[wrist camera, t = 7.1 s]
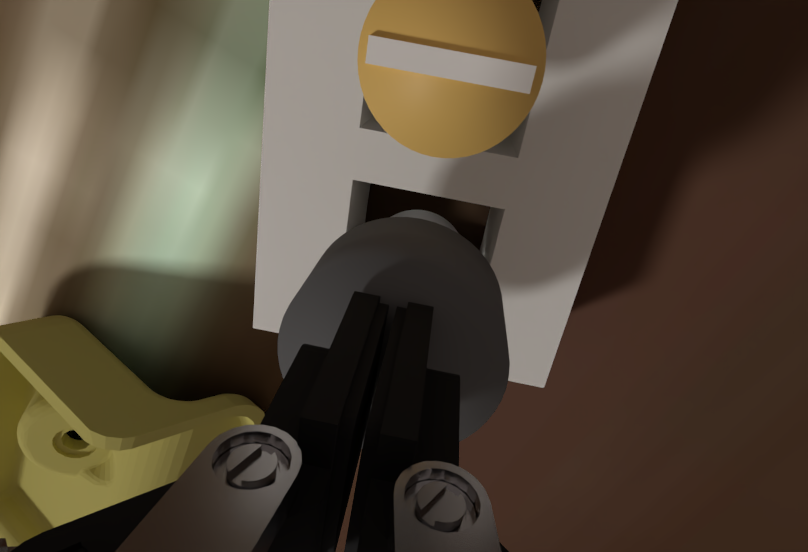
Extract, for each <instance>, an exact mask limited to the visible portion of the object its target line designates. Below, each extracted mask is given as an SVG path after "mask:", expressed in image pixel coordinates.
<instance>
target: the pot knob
mask: <svg viewBox="0 0 808 552" xmlns="http://www.w3.org/2000/svg"><path fill="white" fill-rule="evenodd" d="M357 62H358V75H359V80H360V86H361V89H362V92H363V95H364V98H365V101H366V103H367V105H368V107H369V109H370V111H371V113H372V114H373V116H374V118H375V119H376V121H377V122H378V123H379V124H380V126H381V127H382V128H383V129H384V130H385V131H386V132H387V133H388V134H389V135H390V136H391V137H392V138H393V139H395V140H396V141H397V142H399V143H400V144H402V145H403V146H405V147H407V148H409V149H410V150H413V151H415V152H418V153H420V154H423V155H427V156H431V157H437V158H460V157H467V156H471V155H474V154H478V153H480V152H483V151H485V150H488V149H490V148H491V147H493V146H495V145H497V144H498V143H500V142H501V141H503V140H504V139H505V138H507V137H508V136H509V135H510V134H511V133H512V132H513V131H514V130H515V129H517V128H518V126H519V125H520V124H521V123H522V122H523V120H524V119H525V118H526V116H527V115H528V113H529V112H530V110H531V109H532V107H533V105H534V103H535V101H536V99H537V97H538V94H539V91H540V88H541V85H542V82H543V78H544V73H545V67H546V40H545V35H544V29H543V25H542V22H541V19H540V16H539V13H538V11H537V9H536V7H535V5H534V3H533V1H532V0H375V2H374V3H373V5H372V6H371V8H370V10H369V12H368V15H367V17H366V19H365V21H364V24H363V28H362V31H361V34H360V40H359V45H358V58H357Z"/></svg>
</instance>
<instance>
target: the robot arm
mask: <svg viewBox="0 0 808 552" xmlns="http://www.w3.org/2000/svg"><path fill="white" fill-rule="evenodd" d="M388 308H389V305H388V304H383V303H380V296H377V295H372V294H367V293H362V292H357V291H354V293H353V295H352V298H351V300H350V302H349V305H348V307H347V309H346V312H345V314H344V316H343V319H342V321H341V323H340V325H339V328H338V330H337V332H336V335H335V337H334V339H333V342H332V344H331V346H330V349H329V348H324V347H319V346H314V345H309V344H303V345H302V346H301V348H300V349H299V351H298V353H297V355H296V357H295V359H294V361H293V362H292V364H291V366H290V368H289V370H288V372H287V374H286V376H285V378H284V380H283V382H282V383H281V385H280V387H279V389H278V391H277V393H276V395H275V397H274V399H273V401H272V403H271V404H270V406H269V408H268V410H267V412H266V414H265V416H264V418H263V420H262V422H261V423H260V425H244V426H240V427H235V428H232V429H230V430H228V431H226V432H224V433H222V434H220V435H218V436H217V437H216V438H215V439H214V440H212V441H211V442H210V443H209V444H208V445H207V446H206V447H205V448H204V450H203V451H202V452H201V453H200V454H199V455H198V457H197V458H196V459H195V460H194V461H193V462H192V463H191V465H190V466H189V467H188V468H187V469H186V470H185V472H184V473H183V474H182V475H181V476H180V477H179V478H178V480H177V481H174V482H172V483H169V484H166V485H164V486H161V487H159V488H156V489H153V490H151V491H148V492H146V493H143V494H140V495H138V496H135V497H133V498H130V499H128V500H125V501H122V502H120V503H117V504H115V505H112V506H109V507H107V508H104V509H102V510H99V511H96V512H94V513H91V514H89V515H86V516H83V517H81V518H78V519H76V520H73V521H70V522H68V523H65V524H63V525H60V526H57V527H55V528H52V529H50V530H47V531H44V532H42V533H40V534H38V535H36V536H34V537H32V538H30V539H28V540H26V541H24V542H22V543H21V544H20V545H18V546H9V547H8V546H7V542H6V538H0V552H335V551H336V547H337V543H338V539H339V535H340V531H341V527H342V523H343V519H344V515H345V511H346V507H347V503H348V499H349V495H350V491H351V487H352V483H353V480H354V476H355V472H356V468H357V464H358V460H359V456H360V452H361V448H362V453H361V459H360V465H359V470H358V476H357V482H356V488H355V493H354V499H353V505H352V511H351V516H350V522H349V528H348V533H347V539H346V545H345V551H344V552H508V551H507V549H506V548H505V547H504V546H503V545H502V544H501V543H500V542H499V538H498V534H497V529H496V525H495V521H494V516H493V512H492V507H491V503H490V500H489V498H488V495H487V493H486V490H485V489H484V488H483V486H482V485H481V484H480V483H479V481H478V480H477V479H476V478H475V477H473V476H472V475H471V474H470V473H468V472H467V471H466V470H464V469H462V468H460V467H459V422H460V375H457V374H452V373H447V372H442V371H437V370H433V369H428V368H427V360H428V352H429V343H430V335H431V327H432V318H433V310H434V307H433V306H428V305H423V304H418V303H413V302H408V306H407V308H403V307H398V306H397V308H396V312H395V316H394V320H393V324H392V328H391V332H390V336H389V340H388V344H387V348H386V351H385V355H384V359H383V363H382V367H381V371H380V375H379V379H378V383H377V387H376V391H375V395H374V399H373V394H374V388H375V382H376V377H377V371H378V365H379V360H380V354H381V348H382V343H383V337H384V331H385V326H386V320H387V314H388ZM372 399H373V403H372ZM371 405H372V407H371ZM370 410H371V411H370ZM364 436H365V437H364ZM363 440H364V442H363ZM362 444H363V447H362Z"/></svg>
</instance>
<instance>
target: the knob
mask: <svg viewBox="0 0 808 552" xmlns="http://www.w3.org/2000/svg"><path fill="white" fill-rule="evenodd" d="M354 291H357V292H362V293H367V294H372V295H377V296H380V303H383V304H388V305H389V308H388V314H387V320H386V326H385V331H384V337H383V343H382V348H381V354H380V360H379V365H378V371H377V377H376V382H375V388H374V394H373V399H374V395H375V391H376V387H377V383H378V379H379V375H380V371H381V367H382V363H383V359H384V355H385V351H386V348H387V344H388V340H389V336H390V332H391V328H392V324H393V320H394V316H395V312H396V308H397V306H398V307H403V308H407V306H408V302H413V303H418V304H423V305H428V306H433V307H434V310H433V318H432V327H431V335H430V343H429V352H428V360H427V368H428V369H433V370H437V371H442V372H447V373H452V374H457V375H460V422H459V442H460V441H461V440H463V439H465V438H467V437H468V436H470V435H471V434H473V433H474V432H475V431H477V430H478V429H479V428H480V427H481V426H482V425H483V424H484V423H486V422H487V420H488V419H489V418H490V417H491V415H492V414H493V413H494V412H495V410H496V409H497V407H498V405H499V403H500V402H501V400H502V397H503V395H504V392H505V390H506V386H507V382H508V377H509V366H510V360H509V350H508V342H507V334H506V325H505V317H504V309H503V301H502V294H501V290H500V286H499V283H498V280H497V278H496V275H495V273H494V271H493V269H492V268H491V266H490V264H489V262H488V261H487V260H486V258H485V257H484V256H483V255H482V253H481V252H480V251H479V250H478V249H477V248H476V247H475V246H474V245H473V244H472V243H471V242H470V241H468V240H467V239H466V238H464V237H463V236H461V235H460V234H459V233H458V232H457V230H456V229H455V228H454V226H453V225H452V224H451V223H450V222H449V221H447V220H446V219H445V218H443V217H441V216H440V215H438V214H435V213H433V212H429V211H425V210H407V211H403V212H400V213H397V214H395V215H393V216H391V217H389V218H381V219H377V220H373V221H369V222H366V223H364V224H361V225H359V226H356V227H354V228H353V229H351V230H349V231H347V232H346V233H344V234H343V235H342V236H340V237H339V238H338V239H337V240H335V241H334V242H333V243H332V244H331V245H330V246H329V248H328V249H327V250H326V251H325V253H324V254H323V255H322V257H321V258H320V260H319V261H318V263H317V264H316V266H315V267H314V269H313V270H312V272H311V273H310V275H309V276H308V277H307V279H306V280H305V282H304V283H303V285H302V286H301V288H300V289H299V291H298V292H297V294H296V295H295V297H294V298H293V300H292V301H291V303H290V304H289V306H288V308H287V310H286V312H285V314H284V316H283V319H282V322H281V326H280V329H279V335H278V360H279V366H280V370H281V373H282V376H283V379H284V378H285V376H286V374H287V372H288V370H289V368H290V366H291V364H292V362H293V361H294V359H295V357H296V355H297V353H298V351H299V349H300V348H301V346H302V345H303V344H309V345H314V346H319V347H324V348H329V349H330V346H331V344H332V342H333V339H334V337H335V335H336V332H337V330H338V328H339V325H340V323H341V321H342V319H343V316H344V314H345V312H346V309H347V307H348V305H349V302H350V300H351V298H352V295H353V293H354ZM373 399H372V403H373ZM371 407H372V405H371ZM370 411H371V410H370ZM364 437H365V436H364ZM363 442H364V440H363ZM362 447H363V444H362Z"/></svg>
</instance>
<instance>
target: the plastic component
mask: <svg viewBox="0 0 808 552" xmlns="http://www.w3.org/2000/svg"><path fill="white" fill-rule="evenodd" d="M264 416H265V414H264V412H263V411H262V410H261V409H260V408H259V407H258V406H256V405H255V404H254V403H253V402H252V401H251V400H249V399H248V398H246V397H244V396H241V395H237V394H220V395H216V396H212V397H209V398H205V399H201V400H196V401H177V400H173V399H168V398H166V397H163V396H161V395H158V394H157V393H155V392H154V391H152V390H151V389H150V388H149V387H148V386H147V385H146V384H145V383H144V382H142V381H141V380H140V379H139V378H138V377H137V376H136V375H135V374H134V373H133V372H132V371H131V370H130V369H129V368H128V367H126V366H125V365H124V364H123V363H122V362H121V361H120V360H119V359H118V358H117V357H116V356H115V355H114V354H113V353H112V352H110V351H109V350H108V349H107V348H106V347H105V346H104V345H103V344H102V343H101V342H100V341H99V340H98V339H97V338H96V337H94V336H93V335H92V334H91V333H90V332H89V331H88V330H87V329H86V328H85V327H84V326H83V325H81V324H80V323H79V322H78V321H76V320H74V319H72V318H69V317H67V316H62V315H52V316H47V317H42V318H37V319H32V320H27V321H21V322H16V323H11V324H6V325H1V326H0V538H6V542H7V546H8V547H9V546H18V545H20V544H21V543H22V542H24V541H26V540H28V539H30V538H32V537H34V536H36V535H38V534H40V533H42V532H44V531H47V530H50V529H52V528H55V527H57V526H60V525H63V524H65V523H68V522H70V521H73V520H76V519H78V518H81V517H83V516H86V515H89V514H91V513H94V512H96V511H99V510H102V509H104V508H107V507H109V506H112V505H115V504H117V503H120V502H122V501H125V500H128V499H130V498H133V497H135V496H138V495H140V494H143V493H146V492H148V491H151V490H153V489H156V488H159V487H161V486H164V485H166V484H169V483H172V482H174V481H177V480H178V478H179V477H180V476H181V475H182V474H183V473H184V472H185V470H186V469H187V468H188V467H189V466H190V465H191V463H192V462H193V461H194V460H195V459H196V458H197V457H198V455H199V454H200V453H201V452H202V451H203V450H204V448H205V447H206V446H207V445H208V444H209V443H210V442H211V441H212V440H214V439H215V438H216V437H217V436H218V435H220V434H222V433H224V432H226V431H228V430H230V429H232V428H235V427H240V426H244V425H260V423H261V422H262V420H263V418H264ZM70 430H75V431H76V432H77V433H78V435H79V436H80V437H81V438H82V439H83V440H75V439H73V438H71V437H70V436H68V435H67V432H68V431H70Z"/></svg>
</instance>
